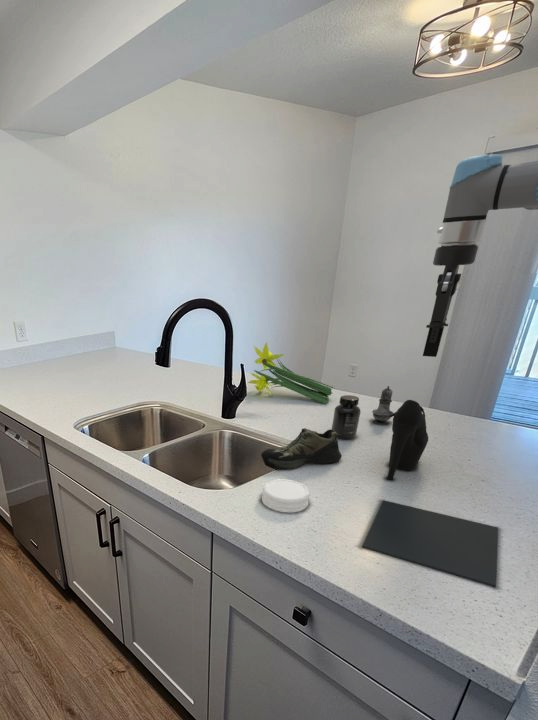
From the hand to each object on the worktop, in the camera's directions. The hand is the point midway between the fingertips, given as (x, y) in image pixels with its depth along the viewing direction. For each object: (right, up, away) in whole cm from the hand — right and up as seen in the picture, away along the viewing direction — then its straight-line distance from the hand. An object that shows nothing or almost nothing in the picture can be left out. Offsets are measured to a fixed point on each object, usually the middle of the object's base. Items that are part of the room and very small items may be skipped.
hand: (429, 355), depth 104 cm
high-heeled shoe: (-5, -28, +5) cm, 28 cm away
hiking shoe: (-27, -26, +12) cm, 39 cm away
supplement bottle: (-8, -17, +26) cm, 32 cm away
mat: (-14, -41, -21) cm, 48 cm away
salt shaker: (+7, -12, +34) cm, 37 cm away
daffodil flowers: (-11, +2, +64) cm, 65 cm away
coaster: (-37, -35, -6) cm, 51 cm away
